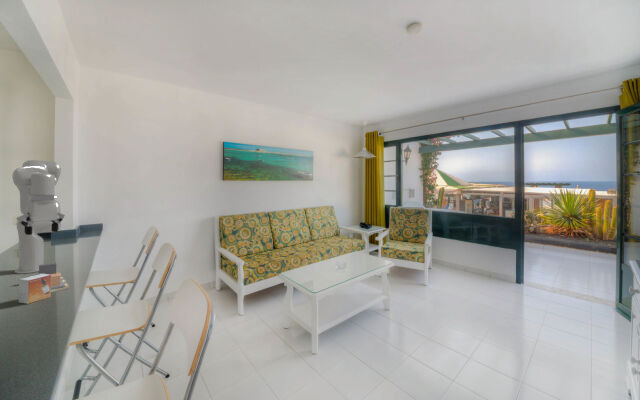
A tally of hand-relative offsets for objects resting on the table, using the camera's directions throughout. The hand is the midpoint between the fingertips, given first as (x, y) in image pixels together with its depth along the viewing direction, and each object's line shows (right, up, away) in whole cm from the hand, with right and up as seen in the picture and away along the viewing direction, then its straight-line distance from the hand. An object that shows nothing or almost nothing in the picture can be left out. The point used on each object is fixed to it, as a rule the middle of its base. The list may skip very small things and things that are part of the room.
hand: (42, 233), depth 120 cm
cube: (+4, -26, +1) cm, 26 cm away
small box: (+9, -29, -10) cm, 32 cm away
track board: (-6, -27, +8) cm, 29 cm away
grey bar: (-1, -27, +5) cm, 27 cm away
